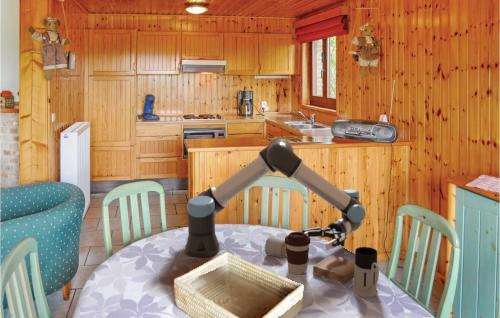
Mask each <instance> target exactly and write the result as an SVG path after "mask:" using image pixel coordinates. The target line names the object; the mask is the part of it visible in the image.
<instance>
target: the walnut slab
mask: <svg viewBox="0 0 500 318" xmlns="http://www.w3.org/2000/svg"><path fill="white" fill-rule="evenodd" d="M354 262H355V260H351V259H347V258H344V257H341V256H337V255H333V254H331V255H329V256H327V257H326V258H325V259H322V260H321V261H318V263H316V264H314V265H313V266H312V274H314V275H316V276H320V277H323V278H326V279H330V280H333V281H335V282H337V283H341V284H345V285H346V284H347V283H349V282H350V281H351V280H354Z"/></svg>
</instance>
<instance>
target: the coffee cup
mask: <svg viewBox="0 0 500 318" xmlns="http://www.w3.org/2000/svg"><path fill="white" fill-rule="evenodd" d="M284 241H285V243H286V245H287V246H286V261H287V270H288V272H289V273H290V274H293V275H302V274H306V273H307V269H308V262H309V256H310V255H309V253H310V246H309V245H310V244H311V237H308V236H307V235H306V234H305V233H303V232H302V231H293V232H290V233H288V235H286V236H285V237H284Z"/></svg>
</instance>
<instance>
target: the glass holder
mask: <svg viewBox="0 0 500 318" xmlns="http://www.w3.org/2000/svg"><path fill="white" fill-rule="evenodd" d="M354 261H355V262H354V278H353V287H352V289H351V290H352V292H353V293H354V294H355V295H357V296H360V297H363V298H371V297H375V296H377V295H378V293H379V291H378V289H377V284H378V282H379V276H380V275H379V274H380V271H379V270H380V269H379V266H378V250H377V249H375V248H374V247H367V246H360V247H357V248H355V250H354Z"/></svg>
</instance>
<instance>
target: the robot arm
mask: <svg viewBox="0 0 500 318" xmlns="http://www.w3.org/2000/svg"><path fill="white" fill-rule="evenodd" d="M276 172H279V173H281V174H282V175H283V176H285V177H287V178H288V179H294V180H295V181H297V182H298V183H300V184H301V185H303V186H304V187H305V188H307V189H308V190H309V191H311V192H312V193H314V194H315V195H317V196H318V197H320V198H321V199H323V200H324V201H325V202H326V203H328V204H329V205H331V206H332V207H334V208H335V209H337V210H338V211H340V213H341V218H339V219H337V220H335V221H333V222H331V223H329V224H328V225H327V227H325V228H323V227H322V226H320V225H319V226H316V227H311V228H306V229H305V228H304V229H302V230H301V232H303V233H305V234H306V235H307V236H308V237H310V238H314V237H321V238H329V239H332V240H330V241H328V242H326V243H325V251H330V250H331V249H333V248H336V247H340V246H341V247H345V245H346V244H345V242H346V240H347V236H348V235H349V234H351V233H353V232H355V231H357V230H358V229H359V228H360V227H361V226H362V223H363V221H364V219H365V218H366V210H365V209H366V208H365V206H363V204H362V203H361V201H360V192H359V191H358V190H357V189H350V188H349V189H344V190H341V189H340V188H338V187H337V186H335V184H333V183H332V182H330V181H329V180H327V179H326V178H325V177H324V176H322V175H321V174H319V173H318V172H316V171H314V170H313V169H312V168H310V167H309V166H308V165H306V164H305V163H304V162H303V159H302V158H300V157H299V156H298V155H297V154H296V153H295V152H294V148H293V146H292V144H291V143H290V142H289V141H288V140H285V139H284V138H283V139H282V138H278V139H274V140H272V141H271V142H270V143H268V145H267V146H266V147H264V148H263V149H261V150H260V151H259V152H258V156H257V157H256V158H255V159H253V160H252V161H251V162H249V163H248V164H246V165H245V166H244V167H242V168H241V169H240V170H238V171H237V172H236V173H233V175H231V176H230V177H229V178H227V179H226V180H224V181H223V182H222V183H220V184H219V185H218V186H211V187H208V189H206V190H205V191H202V192H200V193H199V194H197V196H194V197H191V198H190V199H189V200H188V201H187V207H186V211H187V228H188V235H187V239H186V244H185V246H184V253H185V252H186V253H185V254H186V255H187V254H188V255H187V256H189V257H194V258H207V257H211V256H214V255H217V254H218V253H219V252H220V243H219V240H218V237H217V235H216V215H218V213H220V212H222V211H223V210H224V209H225V208H227V206H228V202H229V201H231V200H232V199H234V198H235V197H237V196H238V195H239V194H240V193H242V192H244V191H245V190H246V189H248V188H249V187H251V186H252V185H253V184H256V182H257V181H259V180H261V179H263V178H264V177H265V176H266V175H268V174H270V173H271V174H275V173H276ZM340 239H341V240H340Z"/></svg>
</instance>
